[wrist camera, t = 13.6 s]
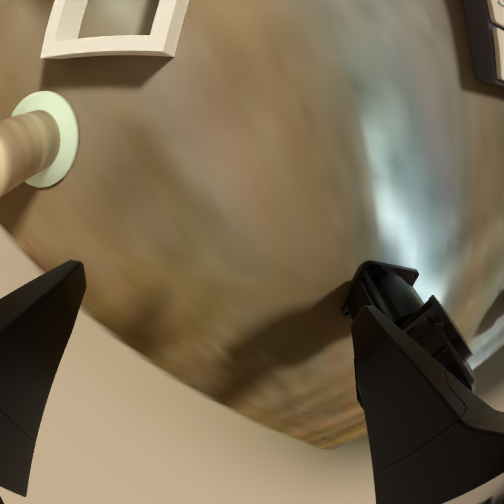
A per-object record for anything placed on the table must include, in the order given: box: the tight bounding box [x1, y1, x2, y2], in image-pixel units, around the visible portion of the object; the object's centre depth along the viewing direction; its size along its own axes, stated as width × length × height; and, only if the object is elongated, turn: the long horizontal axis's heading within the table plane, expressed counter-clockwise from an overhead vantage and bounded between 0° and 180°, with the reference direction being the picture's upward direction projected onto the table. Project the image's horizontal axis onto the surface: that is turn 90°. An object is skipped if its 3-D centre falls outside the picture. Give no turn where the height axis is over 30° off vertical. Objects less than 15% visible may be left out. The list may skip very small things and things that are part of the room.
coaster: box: [11, 91, 79, 187], centre depth 16 cm, size 8×8×1 cm
